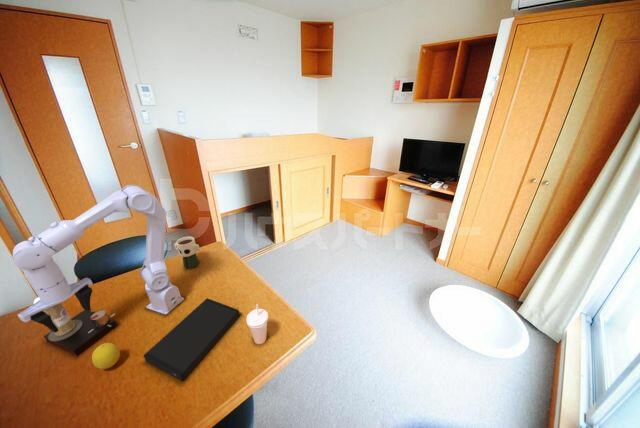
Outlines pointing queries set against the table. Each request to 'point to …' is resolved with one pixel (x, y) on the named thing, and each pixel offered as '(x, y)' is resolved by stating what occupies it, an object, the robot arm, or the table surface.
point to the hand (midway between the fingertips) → (71, 319)
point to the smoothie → (258, 324)
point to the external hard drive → (192, 339)
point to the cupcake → (99, 319)
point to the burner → (55, 338)
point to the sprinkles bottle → (59, 318)
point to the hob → (83, 334)
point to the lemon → (105, 355)
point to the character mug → (188, 251)
